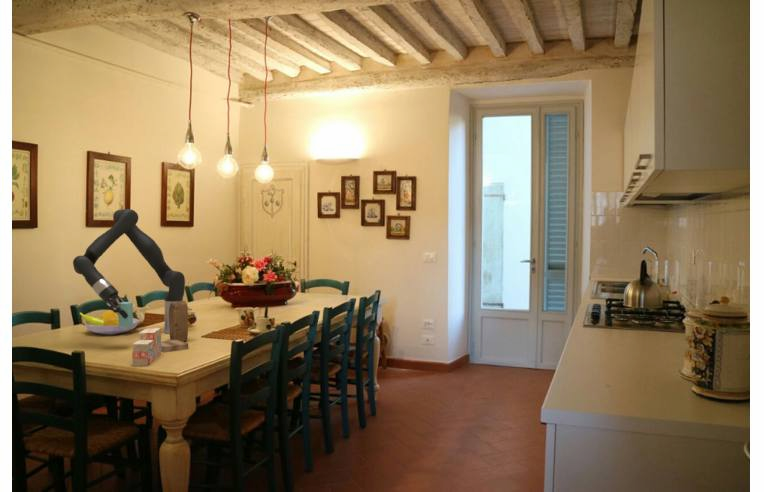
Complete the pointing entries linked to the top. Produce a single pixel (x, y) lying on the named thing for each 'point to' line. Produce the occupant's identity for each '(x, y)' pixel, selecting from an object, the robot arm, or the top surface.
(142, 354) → the stack of blocks
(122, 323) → the post
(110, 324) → the fruit bowl
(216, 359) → the top surface
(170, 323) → the block
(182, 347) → the slab
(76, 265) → the robot arm
